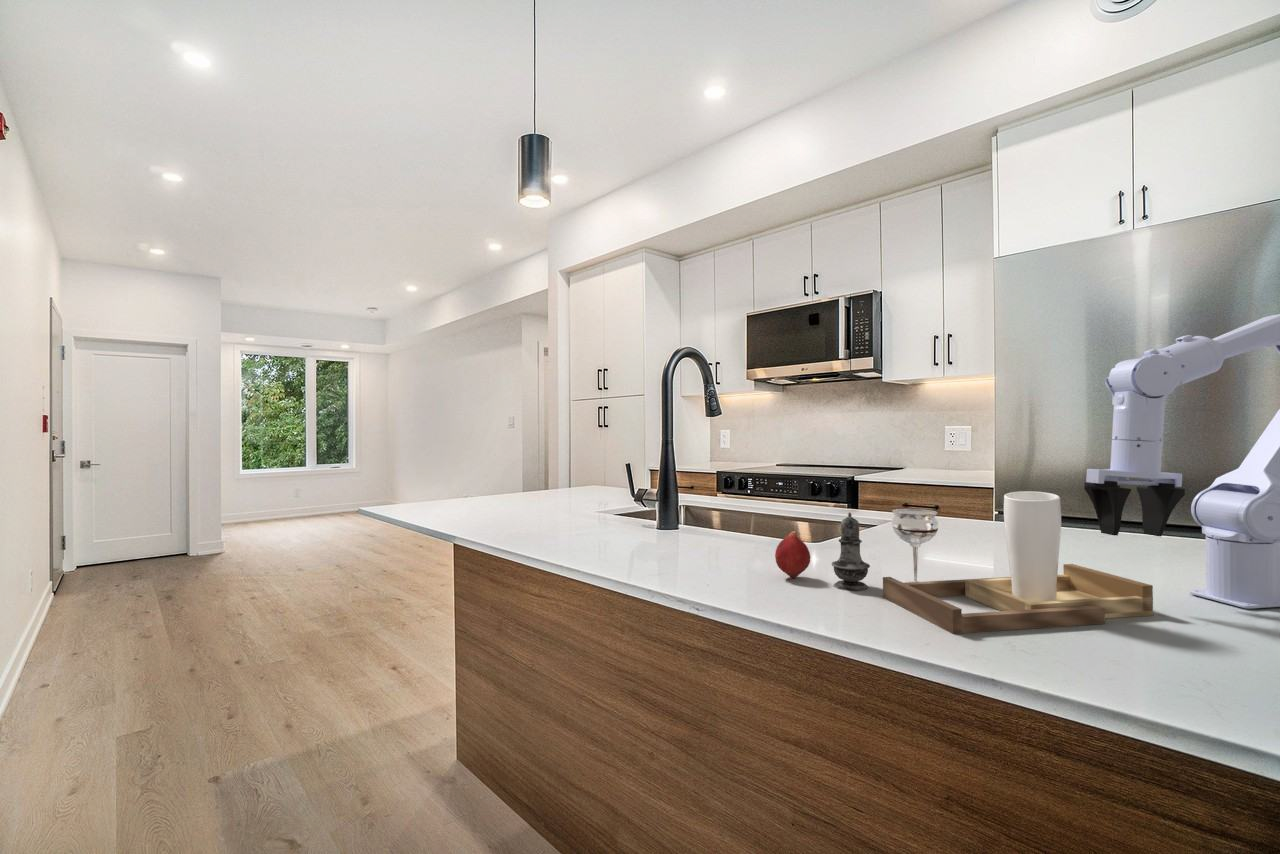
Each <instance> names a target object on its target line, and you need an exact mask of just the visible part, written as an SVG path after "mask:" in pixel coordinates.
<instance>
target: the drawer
mask: <svg viewBox="0 0 1280 854" xmlns="http://www.w3.org/2000/svg"><path fill="white" fill-rule="evenodd" d="M1062 568H1063V574H1057V599H1056V601H1044V602H1030V601H1027V600H1024V599H1022V598H1019V597H1016V596H1014V595H1012V582H1011V578H1000V577H994V578H995V579H982V578H975V579H976V580H965V595H964V596H965V597H966V598H969V599H971V600H974V601H976V602H979V603H981V604H984V605H986V606H988V607H991V608H993V609H996V610H998V611H1014V610H1030V609H1046V608H1062V607H1078V606H1095V605H1097V606H1100V607H1103V608H1105V619H1116V618H1117V619H1118V618H1134V617H1145V616H1146V617H1147V616H1148V617H1149V616H1154V599H1153V598H1154V597H1153V596H1154V595H1153V594H1154V590H1153V588H1154V587H1153V585H1152V584H1149V583H1145V582H1141V581H1138V580H1134V579H1131V578H1126V577H1122V576H1118V575H1115V574H1111V573H1108V572H1103V571H1100V570H1096V569H1092V568H1089V567H1085V566H1081V565H1077V564H1074V563H1067V564H1066V563H1064V564H1063V567H1062Z"/></svg>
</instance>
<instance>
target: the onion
mask: <svg viewBox="0 0 1280 854" xmlns="http://www.w3.org/2000/svg"><path fill="white" fill-rule="evenodd" d="M809 550H810V549H809V548H808V546H807V544H806V543H805V542H804V541H803V540H801V538H799V537H798V536H797V532H796V531H795V530H794V531H791V532H790V533H789V534H788V535H787V536H786V537H784V538H783V539H782V540H781V541H780V542H779V543H778V545H777V546H776V548H775V554H774V557H775V564H776V566H777V568H778V569H780V570H781V571H782V572H783V573H784V574H786V575H787V576H788V577H789V578H792V579H796V578H797V577H799V576H800V575H801V574H802V573H803V572H805V571H806V570H807V568H809V566H810V563H811V553H810V551H809Z"/></svg>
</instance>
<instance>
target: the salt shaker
mask: <svg viewBox="0 0 1280 854" xmlns="http://www.w3.org/2000/svg"><path fill="white" fill-rule="evenodd" d="M847 516H848V517H846V518H843V519H842V520H841V522H840V539H838V542H839V543H840V555H839V558H838V560H835V561H832V562H831V566H832V567H833V572H834V574H835V576H836V577H837V578H838V579H839V580H838V581H837V582H835V583H833V587H834V588H836V589H839V590H842V591H847V592H848V591H850V592H851V591H852V592H861V591H866V590H868V589H869V586H868V585H867V583H865V582H863V580H864V579H865V578H866V577H867V574H868V572H869V569H870V567H871V565H870V564H869V563H867V562H865V561H863V560H862V555H861V543H862V542H863V541H862V540H861V539H860V522H859V521H858V519H856V518H854V517H852V513H851V512H850V511H849V512H848V514H847Z"/></svg>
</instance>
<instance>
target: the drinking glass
mask: <svg viewBox="0 0 1280 854" xmlns="http://www.w3.org/2000/svg"><path fill="white" fill-rule="evenodd" d="M1061 508H1062V507H1061V497H1060V496H1059V495H1057V494H1055V493H1051V492H1043V491H1027V490H1026V491H1012V492H1011V491H1010V492H1008V493H1005V494H1004V495H1003V522H1004V524H1003V525H1004V534H1005V539H1006V540H1005V541H1006V548H1007V556H1008V563H1009V564H1008V565H1009V572H1010V577H1011V582H1012V595H1014V596H1016V597H1019V598H1022V599H1024V600H1027V601H1030V602H1044V601H1056V599H1057V575H1058V573H1059V572H1058V569H1059V558H1060V544H1061V534H1062V533H1061V532H1062V509H1061Z"/></svg>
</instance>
